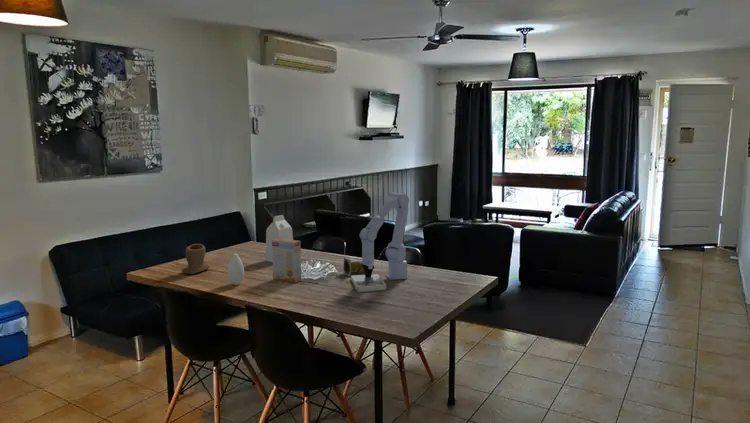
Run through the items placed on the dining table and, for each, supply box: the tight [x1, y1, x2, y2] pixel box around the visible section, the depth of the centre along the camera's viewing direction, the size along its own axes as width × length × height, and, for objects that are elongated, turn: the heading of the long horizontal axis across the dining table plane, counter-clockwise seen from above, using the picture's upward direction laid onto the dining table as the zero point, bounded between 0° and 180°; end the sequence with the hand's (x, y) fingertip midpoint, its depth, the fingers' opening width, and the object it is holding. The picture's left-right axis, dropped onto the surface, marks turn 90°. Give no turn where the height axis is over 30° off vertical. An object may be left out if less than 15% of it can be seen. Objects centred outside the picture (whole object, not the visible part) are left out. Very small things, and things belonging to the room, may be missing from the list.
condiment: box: [342, 257, 364, 277], centre depth 287 cm, size 7×8×12 cm
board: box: [350, 273, 383, 285], centre depth 271 cm, size 14×11×2 cm
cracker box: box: [272, 238, 302, 284], centre depth 273 cm, size 14×6×21 cm, turn 61°
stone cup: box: [181, 243, 211, 275], centre depth 289 cm, size 15×12×15 cm
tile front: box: [366, 282, 376, 286], centre depth 260 cm, size 4×4×2 cm
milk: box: [265, 214, 294, 263], centre depth 313 cm, size 12×12×26 cm
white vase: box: [227, 251, 245, 286], centre depth 266 cm, size 8×8×18 cm
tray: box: [353, 279, 387, 293], centre depth 261 cm, size 14×10×2 cm
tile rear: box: [364, 277, 374, 285], centre depth 264 cm, size 4×4×2 cm
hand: (368, 279), depth 266 cm, fingers closed
